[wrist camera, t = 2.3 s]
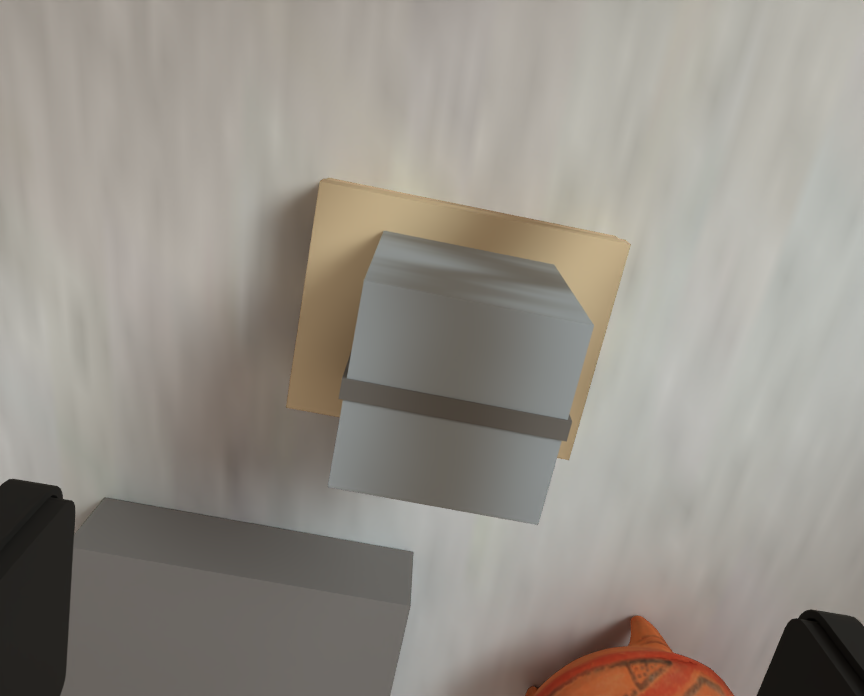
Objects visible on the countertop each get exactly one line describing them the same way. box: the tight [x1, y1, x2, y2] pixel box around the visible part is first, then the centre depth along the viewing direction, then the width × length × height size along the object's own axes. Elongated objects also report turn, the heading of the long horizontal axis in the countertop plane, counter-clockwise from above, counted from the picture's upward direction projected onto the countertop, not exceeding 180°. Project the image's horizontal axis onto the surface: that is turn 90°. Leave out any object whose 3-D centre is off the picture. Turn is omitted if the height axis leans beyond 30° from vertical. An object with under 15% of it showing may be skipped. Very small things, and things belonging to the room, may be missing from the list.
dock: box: [60, 498, 413, 696], centre depth 27 cm, size 11×11×3 cm
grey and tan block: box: [286, 178, 631, 525], centre depth 21 cm, size 9×7×8 cm
